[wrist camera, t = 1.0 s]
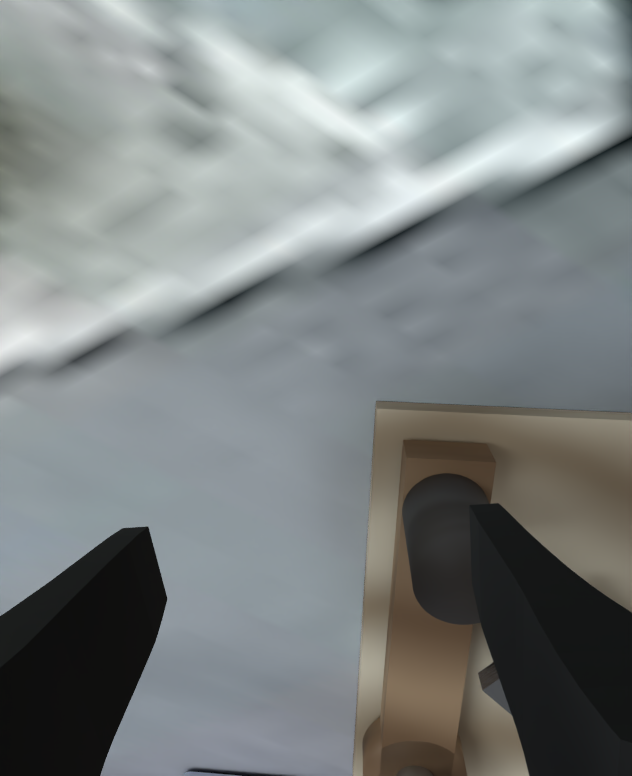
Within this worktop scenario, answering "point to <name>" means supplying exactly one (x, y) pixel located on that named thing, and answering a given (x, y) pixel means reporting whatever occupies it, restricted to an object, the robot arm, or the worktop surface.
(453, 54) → the worktop surface
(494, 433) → the latch board
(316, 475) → the worktop surface
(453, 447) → the link
